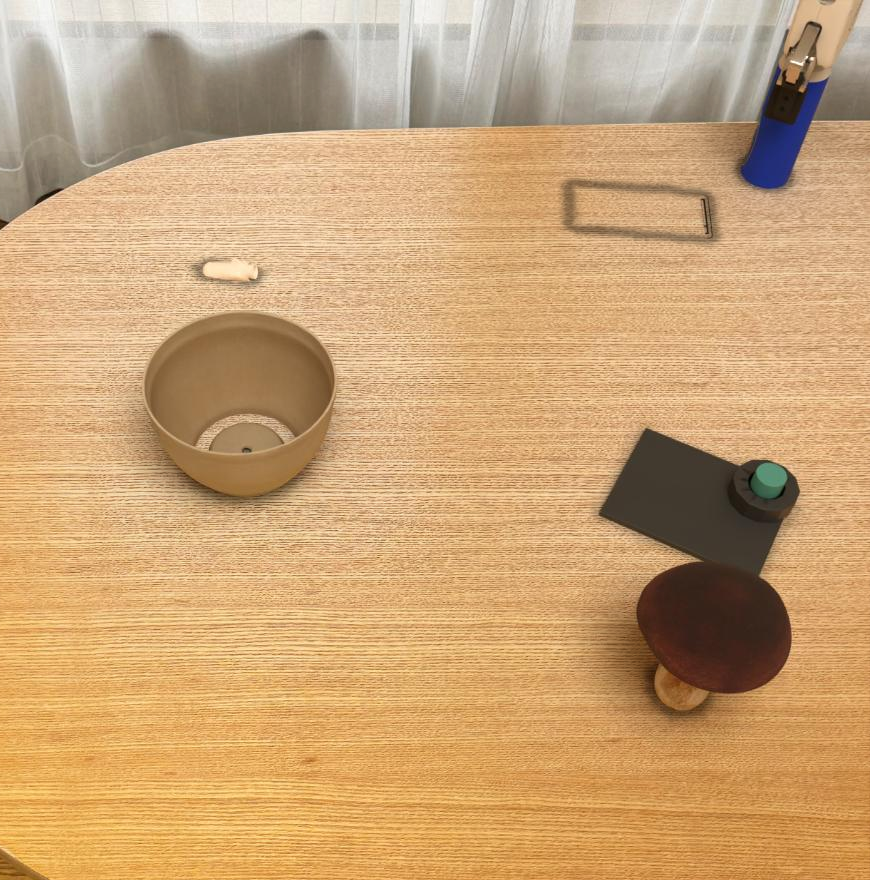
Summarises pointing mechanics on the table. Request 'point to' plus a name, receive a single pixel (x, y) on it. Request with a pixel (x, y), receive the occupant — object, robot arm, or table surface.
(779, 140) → the beverage can
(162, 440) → the planter bowl
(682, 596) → the decorative mushroom
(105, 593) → the table surface
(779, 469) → the button
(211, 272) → the small white plastic part
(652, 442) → the scale
